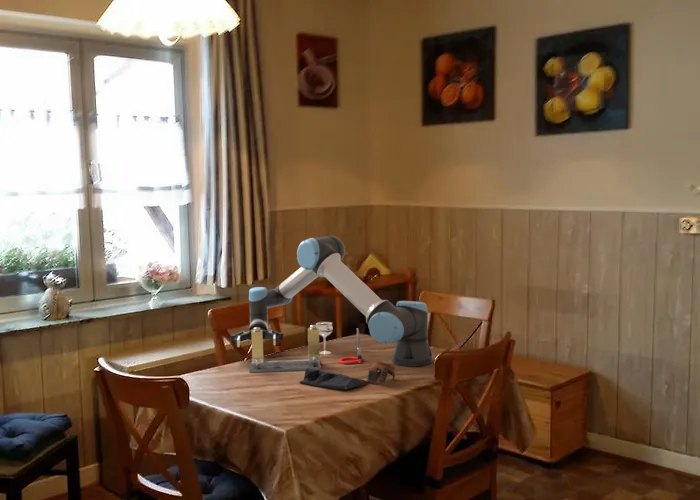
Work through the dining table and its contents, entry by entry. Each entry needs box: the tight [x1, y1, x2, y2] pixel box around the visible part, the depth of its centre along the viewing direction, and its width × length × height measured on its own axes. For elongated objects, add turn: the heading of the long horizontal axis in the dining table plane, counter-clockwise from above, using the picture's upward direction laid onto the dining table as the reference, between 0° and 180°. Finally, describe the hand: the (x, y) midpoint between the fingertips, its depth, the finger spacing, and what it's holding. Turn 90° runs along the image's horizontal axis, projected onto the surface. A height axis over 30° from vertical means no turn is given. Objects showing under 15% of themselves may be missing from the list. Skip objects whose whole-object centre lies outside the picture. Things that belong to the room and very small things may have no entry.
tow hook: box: [337, 328, 363, 365], centre depth 288 cm, size 8×13×9 cm
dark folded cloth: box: [299, 368, 369, 391], centre depth 262 cm, size 15×22×5 cm
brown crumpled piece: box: [366, 360, 396, 386], centre depth 262 cm, size 12×10×8 cm
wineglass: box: [315, 321, 334, 355], centre depth 302 cm, size 7×7×12 cm
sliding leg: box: [251, 327, 265, 366], centre depth 281 cm, size 4×7×13 cm, turn 5°
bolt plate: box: [249, 324, 321, 373], centre depth 283 cm, size 26×12×15 cm, turn 95°
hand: (256, 342), depth 285 cm, fingers open, 13 cm apart
